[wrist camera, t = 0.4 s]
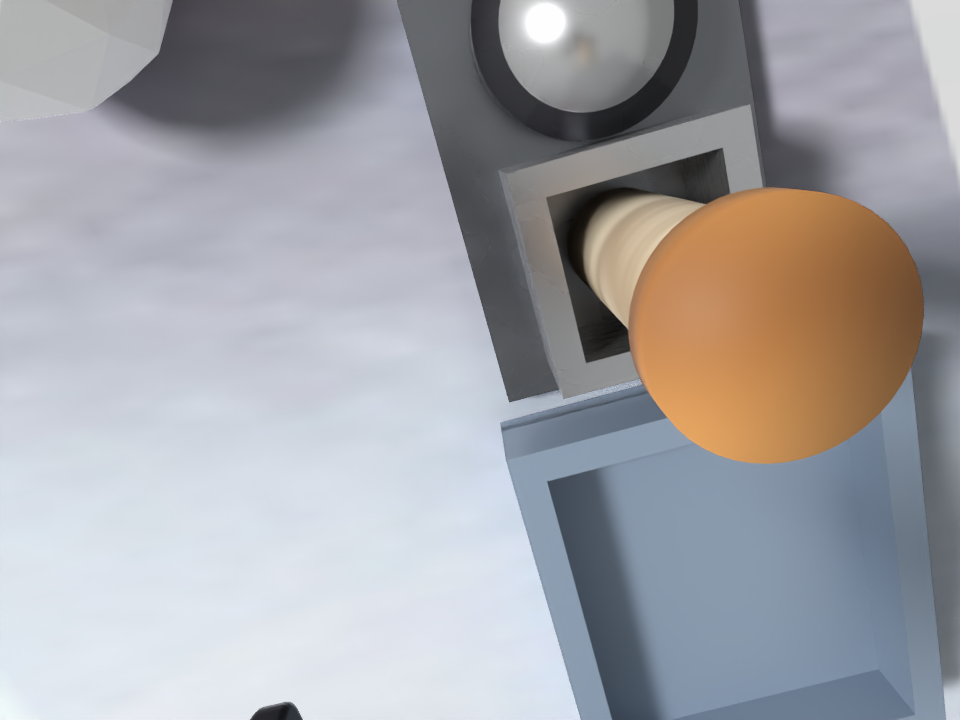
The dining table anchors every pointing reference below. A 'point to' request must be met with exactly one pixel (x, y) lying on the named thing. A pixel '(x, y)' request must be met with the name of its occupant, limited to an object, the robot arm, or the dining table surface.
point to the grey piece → (575, 150)
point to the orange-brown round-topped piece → (756, 312)
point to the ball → (73, 52)
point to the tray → (730, 568)
